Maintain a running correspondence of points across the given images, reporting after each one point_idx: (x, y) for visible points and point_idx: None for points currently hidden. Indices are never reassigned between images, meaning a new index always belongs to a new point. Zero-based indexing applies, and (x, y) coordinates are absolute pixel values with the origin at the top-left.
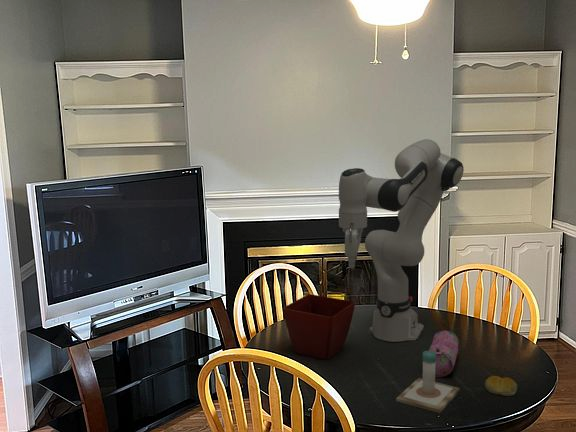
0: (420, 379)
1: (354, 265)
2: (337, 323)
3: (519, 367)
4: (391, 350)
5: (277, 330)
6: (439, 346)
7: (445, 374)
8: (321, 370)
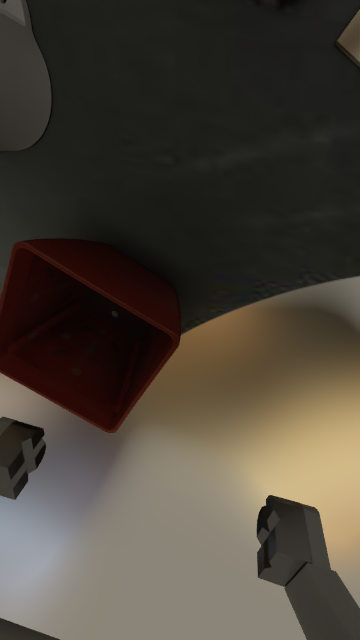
0: (352, 34)
1: (322, 535)
2: (150, 301)
3: None
4: (110, 107)
5: None
6: None
7: None
8: (226, 304)
